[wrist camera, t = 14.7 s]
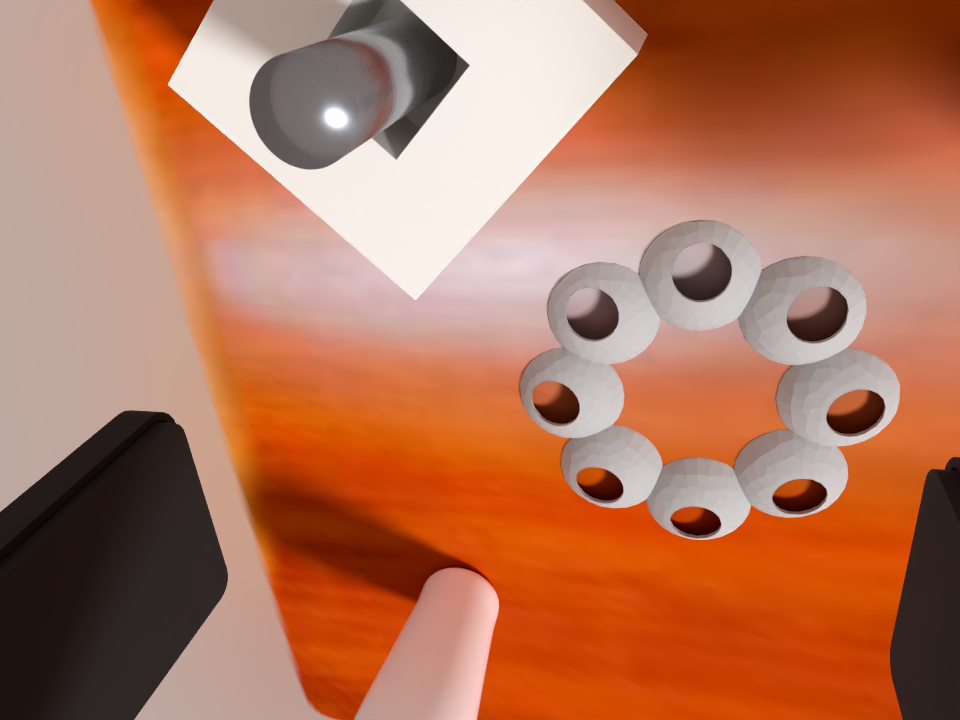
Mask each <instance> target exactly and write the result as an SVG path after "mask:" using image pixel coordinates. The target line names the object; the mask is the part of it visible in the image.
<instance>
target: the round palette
mask: <svg viewBox="0 0 960 720" xmlns="http://www.w3.org/2000/svg"><path fill="white" fill-rule="evenodd" d="M697 243H710V244H714V245H715V246H717V247H719V248H721V249H722V251H723V252H724V253H725V254H726V256H727V257H728V258H729V259H730V262H731V266H732V275H731V278H730V281H729V283H728V285H727V286H726V288H725V289H724V290H723V291H722V292H721V293H720V294H719V295H717V296H716V297H714V298H712V299H708V300H693V299H689V298H687V297H686V296H684V295H682V294H681V293H680V292H679V291H678V290H677V288H676V286H675V284H674V283H673V279H672V267H673V263H674V261H675V259H676V257H677V256H678V254H679V253H680V252H681V251H682V250H683V249H685V248H687V247H688V246H691V245H694V244H697ZM818 286H827V287H831V288H833V289H836V290H838V291H839V292H840V293H841V294H842V295H843V296H844V297H845V299H846V301H847V305H848V310H847V316H846V320H845V321H844V323H843V325H842V327H841V328H840V329H839V330H838V331H837V332H836V333H835V334H834V335H832V336H830V337H829V338H827V339H824V340H820V341H812V342H810V341H805V340H802V339H800V338H798V337H796V336H795V335H794V334H793V333H792V332H791V331H790V329H789V328H788V325H787V312H788V309H789V306H790V305H791V303H792V302H793V300H794V299H795V298H796V297H797V296H798V295H799V294H801V293H802V292H804V291H806V290H807V289H810V288H813V287H818ZM587 287H589V288H594V289H600V290H602V291H604V292H605V293H606V294H608V295H609V296H610V297H611V298H612V299H613V300H614V302H615V304H616V306H617V308H618V312H619V321H618V325H617V327H616V328H615V330H614V331H613V332H612V333H611V334H610V335H609V336H607V337H605V338H603V339H598V340H592V339H587V338H583V337H582V336H580V335H579V334H577V333H576V332H575V331H574V330H573V329H572V328H571V326H570V325H569V323H568V320H567V317H566V304H567V302H568V300H569V298H570V296H571V295H572V294H573V293H574V292H575V291H577V290H579V289H582V288H587ZM866 312H867V310H866V297H865V294H864V291H863V289H862V286H861V284H860V283H859V282H858V281H857V280H856V279H855V278H854V277H853V276H852V275H851V274H850V273H849V272H848V271H847V270H846V269H844V268H843V267H842V266H841V265H840V264H838V263H837V262H834V261H831V260H828V259H825V258H821V257H810V256H802V257H795V258H789V259H785V260H783V261H780V262H778V263H775V264H772V265H770V266H769V267H768V268H766V269H765V270H763V271H761V261H760V259H759V256H758V254H757V252H756V250H755V247H754V246H753V245H752V244H751V242H750V241H749V240H748V239H747V238H746V236H745V235H743V234H742V233H741V232H739V231H737V230H736V229H734V228H733V227H731V226H729V225H726V224H723V223H720V222H717V221H695V222H682V223H680V224H678V225H676V226H673V227H671V228H669V229H667V230H666V231H664V232H663V233H662V234H661V235H659V236H658V237H657V238H655V240H654V241H653V242H652V244H651V245H650V246H649V247H648V249H647V250H646V252H645V254H644V257H643V259H642V261H641V264H640V272H639V274H637V273H636V272H634V271H633V270H631V269H630V268H627V267H624V266H621V265H618V264H615V263H605V262H597V263H591V264H585V265H583V266H580V267H578V268H576V269H573V270H571V271H570V272H569V273H568V274H567V275H566V276H565V277H564V278H563V279H562V280H561V281H560V282H559V283H558V285H557V286H556V287H555V288H554V289H553V291H552V294H551V297H550V300H549V303H548V319H549V323H550V327H551V330H552V332H553V334H554V335H555V337H556V339H557V341H558V342H559V343H560V344H561V345H562V346H563V347H564V348H557V349H552V350H550V351H547V352H545V353H542V354H540V355H539V356H538V357H536V358H535V359H534V360H532V361H531V362H530V364H529V365H528V366H527V368H526V369H525V370H524V373H523V375H522V378H521V381H520V392H521V399H522V404H523V406H524V408H525V410H526V412H527V413H528V415H529V416H530V417H531V418H532V419H533V420H534V421H535V423H536V424H537V425H538V426H540V427H542V428H543V429H545V430H546V431H548V432H550V433H552V434H555V435H558V436H561V437H567V438H571V439H570V440H569V441H568V442H567V444H566V445H565V447H564V450H563V453H562V457H561V468H562V471H563V475H564V477H565V479H566V481H567V483H568V484H569V486H570V487H571V488H572V489H573V490H574V491H575V492H576V493H577V494H578V495H579V496H581V497H582V498H584V499H586V500H587V501H589V502H591V503H594V504H596V505H599V506H602V507H609V508H624V507H629V506H632V505H636V504H639V503H640V502H642V501H644V500H646V502H647V507H648V509H649V511H650V513H651V515H652V516H653V518H654V519H655V520H656V521H657V522H658V523H659V524H660V525H661V526H662V527H663V528H665V529H666V530H668V531H670V532H671V533H673V534H676V535H679V536H682V537H684V538H689V539H695V540H707V539H713V538H718V537H722V536H724V535H726V534H728V533H730V532H732V531H734V530H735V529H736V528H737V527H739V526H740V525H741V524H742V523H743V522H744V520H745V519H746V517H747V515H748V514H749V511H750V507H751V505H752V506H754V507H755V508H757V509H758V510H760V511H762V512H765V513H768V514H770V515H773V516H780V517H787V518H789V517H803V516H806V515H810V514H814V513H817V512H819V511H821V510H823V509H825V508H827V507H828V506H829V505H831V504H832V503H833V502H834V501H835V500H837V499H838V497H839V496H840V494H841V493H842V491H843V490H844V488H845V486H846V482H847V479H848V469H847V463H846V461H845V458H844V456H843V454H842V453H841V451H840V450H839V449H838V448H837V447H836V446H848V445H852V444H856V443H859V442H863V441H865V440H867V439H869V438H871V437H873V436H875V435H876V434H878V433H879V432H880V431H881V430H882V429H883V428H885V427H886V426H887V425H888V424H889V422H890V421H891V420H892V418H893V417H894V415H895V414H896V412H897V408H898V404H899V397H900V384H899V382H898V379H897V377H896V375H895V373H894V372H893V370H892V369H891V368H890V367H889V366H888V364H887V363H886V362H884V361H883V360H881V359H880V358H878V357H877V356H875V355H874V354H871V353H868V352H866V351H863V350H860V349H855V348H846V347H848V346H849V345H850V344H851V343H852V342H853V341H854V340H855V338H856V337H857V335H858V333H859V332H860V330H861V328H862V327H863V323H864V320H865V316H866ZM660 318H661V319H663V320H664V321H666V322H667V323H669V324H671V325H674V326H677V327H680V328H683V329H690V330H707V329H715V328H717V327H720V326H723V325H726V324H729V323H730V322H732V321H733V320H735V319H736V318H739V325H740V329H741V331H742V334H743V336H744V338H745V340H746V341H747V342H748V343H749V344H750V346H751V347H752V348H753V349H754V350H755V351H756V352H758V353H759V354H761V355H762V356H764V357H765V358H767V359H769V360H772V361H775V362H778V363H781V364H787V365H793V366H792V367H791V368H790V369H789V370H788V371H787V372H786V373H785V374H784V376H783V378H782V380H781V381H780V383H779V385H778V390H777V394H776V404H777V411H778V413H779V416H780V418H781V420H782V422H783V423H784V424H785V425H786V427H787V428H788V429H784V430H775V431H772V432H769V433H766V434H763V435H761V436H759V437H757V438H756V439H754V440H752V441H751V442H749V443H748V444H747V445H746V446H745V447H744V448H743V449H742V450H741V452H740V454H739V455H738V457H737V459H736V461H735V465H734V469H732V468H731V467H729V466H728V465H726V464H725V463H722V462H719V461H716V460H713V459H709V458H702V457H690V458H682V459H678V460H675V461H672V462H669V463H668V464H666V465H664V466H662V460H661V457H660V455H659V453H658V451H657V449H656V448H655V446H654V445H653V444H652V443H651V442H650V441H649V440H648V439H647V438H646V437H644V436H643V435H641V434H640V433H638V432H637V431H635V430H632V429H629V428H627V427H624V426H619V425H612V424H613V423H614V422H615V421H616V420H617V419H618V417H619V415H620V413H621V410H622V408H623V403H624V391H623V386H622V382H621V380H620V378H619V376H618V374H617V373H616V371H615V370H614V369H613V368H612V367H611V365H610V364H615V363H621V362H624V361H626V360H629V359H632V358H634V357H635V356H637V355H638V354H640V353H641V352H643V351H644V350H645V349H646V348H647V347H648V345H649V344H650V343H651V342H652V341H653V339H654V337H655V335H656V333H657V330H658V328H659V322H660ZM544 381H555V382H559V383H561V384H564V385H565V386H567V387H568V388H570V389H571V390H572V391H573V392H574V394H575V395H576V397H577V398H578V401H579V405H580V412H579V414H578V416H577V417H576V419H574V420H573V421H572V422H569V423H565V424H558V423H553V422H551V421H548V420H546V419H545V418H544V417H542V416H541V414H540V413H539V412H538V411H537V410H536V408H535V406H534V403H533V401H532V391H533V390H534V388H535V387H536V386H537V385H539V384H540V383H542V382H544ZM859 389H864V390H871V391H873V392H876V393H878V394H879V395H880V396H881V397H882V398H883V399H884V405H885V407H884V411H883V414H882V415H881V417H880V418H879V419H878V421H877V422H876V423H875V424H874V425H872V426H871V427H870V428H868V429H867V430H864V431H861V432H858V433H855V434H843V433H839V432H837V431H834V430H833V429H832V428H831V427H830V426H829V425H828V423H827V420H826V416H827V411H828V409H829V407H830V405H831V404H832V403H833V401H834V400H836V399H837V398H838V397H839V396H841V395H843V394H845V393H847V392H849V391H853V390H859ZM588 467H599V468H603V469H606V470H608V471H610V472H612V473H613V474H614V475H616V476H617V477H618V478H619V480H620V481H621V482H622V485H623V489H624V491H623V494H622V495H621V496H620V497H619V498H617V499H615V500H611V501H604V500H599V499H596V498H593V497H591V496H589V495H588V494H586V493H585V492H584V491H583V490H582V489H581V488H580V487H579V485H578V483H577V481H576V475H577V474H578V472H579V471H580V470H582V469H584V468H588ZM795 479H811V480H815V481H817V482H819V483H821V484H822V485H823V486H824V487H825V488H826V490H827V494H826V497H825V499H824V500H823V501H822V502H821V503H820V504H819V505H818V506H816V507H814V508H812V509H809V510H804V511H800V512H792V511H786V510H783V509H780V508H779V507H777V506H776V505H775V504H774V502H773V500H772V497H773V494H774V492H775V490H776V489H777V488H778V487H779V486H781V485H782V484H784V483H786V482H788V481H791V480H795ZM690 506H695V507H702V508H706V509H708V510H710V511H712V512H714V513H715V514H716V515H717V516H718V517H719V518H720V521H721V525H720V527H719V529H717V530H716V531H715V532H713V533H710V534H707V535H691V534H687V533H685V532H682V531H680V530H678V529H677V528H676V527H674V526H673V524H672V522H671V520H670V518H671V516H672V514H673V513H674V512H675V511H677V510H678V509H680V508H684V507H690Z"/></svg>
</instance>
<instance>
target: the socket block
mask: <svg viewBox="0 0 960 720" xmlns="http://www.w3.org/2000/svg"><path fill="white" fill-rule="evenodd" d="M413 12H414V13H415V14H416V15H417V16H418V17H419V18H420V19H421V20H422V21H423V22H424V23H425V24H426V25H427V26H429V27H430V28H431V29H432V30H433V31H434V32H435V33H436V34H437V35H438V36H439V37H440V38H441V39H442V40H443V41H445V42H446V43H447V44H448V45H449V46H450V47H451V48H452V49H453V50H454V51H455V52H456V53H457V65H456V70H455V73H454V76H453V78H452V80H451V82H450V83H449V84H448V86H447V87H446V88H445V89H444V90H443V91H441V92H440V93H438V94H437V95H435V96H434V97H432V98H431V99H429V100H428V101H426V102H425V103H423V104H422V105H420V106H419V107H417V108H416V109H414V110H413V111H411V112H410V113H408V114H407V115H405V116H404V117H402V118H401V119H399V120H398V121H396V122H395V123H393V124H392V125H390V126H389V127H387V128H386V129H384V130H383V131H381V132H380V133H378V134H377V135H375V136H374V137H372V138H371V139H369V140H368V141H366V142H365V143H363V144H362V145H360V146H359V147H357V148H356V149H354V150H353V151H351V152H350V153H348V154H347V155H345V156H344V157H342V158H341V159H339V160H338V161H336V162H335V163H333V164H332V165H330V166H328V167H325V168H321V169H315V170H307V169H301V168H297V167H294V166H291V165H289V164H287V163H285V162H283V161H282V160H280V159H279V158H277V157H276V156H275V155H274V154H273V153H272V152H271V151H270V150H269V149H268V148H267V147H266V146H265V145H264V143H263V142H262V140H261V139H260V137H259V136H258V134H257V132H256V130H255V127H254V125H253V122H252V119H251V114H250V107H249V95H250V88H251V85H252V82H253V79H254V77H255V75H256V73H257V72H258V70H259V69H260V68H261V67H262V66H263V64H265V63H266V62H267V61H268V60H270V59H271V58H273V57H275V56H278V55H280V54H283V53H287V52H290V51H293V50H296V49H299V48H302V47H305V46H308V45H311V44H314V43H317V42H320V41H323V40H327V39H330V38H333V37H336V36H339V35H342V34H345V33H348V32H351V31H354V30H357V29H360V28H363V27H367V26H370V25H373V24H376V23H379V22H382V21H385V20H388V19H391V18H394V17H397V16H400V15H404V14H407V13H413ZM647 35H648V34H647V33H646V32H645V31H644V30H643V29H642V28H641V27H640V26H639V25H638V24H637V23H636V22H635V21H634V20H633V19H632V18H631V17H630V16H629V15H628V14H627V13H626V12H625V11H624V10H623V9H622V8H621V7H620V6H619V5H618V4H617V3H616V2H615V1H614V0H213V2H212V4H211V6H210V8H209V10H208V12H207V13H206V15H205V17H204V19H203V21H202V23H201V24H200V26H199V28H198V30H197V32H196V34H195V35H194V37H193V39H192V41H191V43H190V45H189V47H188V48H187V50H186V52H185V54H184V56H183V58H182V59H181V61H180V63H179V65H178V67H177V69H176V71H175V72H174V74H173V76H172V78H171V80H170V82H169V83H168V85H169V86H170V87H171V88H172V89H173V90H174V91H175V92H177V93H178V94H179V95H180V96H181V97H182V98H184V99H185V100H186V101H187V102H188V103H189V104H190V105H192V106H193V107H194V108H195V109H196V110H197V111H198V112H200V113H201V114H202V115H203V116H204V117H205V118H206V119H208V120H209V121H210V122H211V123H212V124H213V125H215V126H216V127H217V128H218V129H219V130H220V131H221V132H223V133H224V134H225V135H226V136H227V137H228V138H229V139H231V140H232V141H233V142H234V143H235V144H236V145H237V146H239V147H240V148H241V149H242V150H243V151H244V152H246V153H247V154H248V155H249V156H250V157H251V158H252V159H254V160H255V161H256V162H257V163H258V164H259V165H260V166H262V167H263V168H264V169H265V170H266V171H267V172H268V173H270V174H271V175H272V176H273V177H274V178H275V179H277V180H278V181H279V182H280V183H281V184H282V185H283V186H285V187H286V188H287V189H288V190H289V191H290V192H291V193H293V194H294V195H295V196H296V197H297V198H298V199H299V200H301V201H302V202H303V203H304V204H305V205H306V206H308V207H309V208H310V209H311V210H312V211H313V212H314V213H316V214H317V215H318V216H319V217H320V218H321V219H322V220H324V221H325V222H326V223H327V224H328V225H329V226H330V227H332V228H333V229H334V230H335V231H336V232H337V233H339V234H340V235H341V236H342V237H343V238H344V239H345V240H347V241H348V242H349V243H350V244H351V245H352V246H353V247H355V248H356V249H357V250H358V251H359V252H360V253H361V254H363V255H364V256H365V257H366V258H367V259H368V260H370V261H371V262H372V263H373V264H374V265H375V266H376V267H378V268H379V269H380V270H381V271H382V272H383V273H384V274H386V275H387V276H388V277H389V278H390V279H391V280H393V281H394V282H395V283H396V284H397V285H398V286H399V287H401V288H402V289H403V290H404V291H405V292H406V293H407V294H409V295H410V296H411V297H412V298H413V299H414V300H416V299H417V298H418V297H419V296H420V295H421V294H422V293H423V291H424V290H425V289H426V288H427V287H428V286H429V285H430V284H431V283H432V281H433V280H434V279H435V278H436V277H437V276H438V275H439V274H440V273H441V272H442V270H443V269H444V268H445V267H446V266H447V265H448V264H449V263H450V262H451V260H452V259H453V258H454V257H455V256H456V255H457V254H458V253H459V252H460V251H461V249H462V248H463V247H464V246H465V245H466V244H467V243H468V242H469V241H470V239H471V238H472V237H473V236H474V235H475V234H476V233H477V232H478V231H479V230H480V228H481V227H482V226H483V225H484V224H485V223H486V222H487V221H488V220H489V218H490V217H491V216H492V215H493V214H494V213H495V212H496V211H497V210H498V209H499V207H500V206H501V205H502V204H503V203H504V202H505V201H506V200H507V199H508V197H509V196H510V195H511V194H512V193H513V192H514V191H515V190H516V189H517V188H518V186H519V185H520V184H521V183H522V182H523V181H524V180H525V179H526V178H527V176H528V175H529V174H530V173H531V172H532V171H533V170H534V169H535V168H536V167H537V165H538V164H539V163H540V162H541V161H542V160H543V159H544V158H545V157H546V156H547V154H548V153H549V152H550V151H551V150H552V149H553V148H554V147H555V146H556V144H557V143H558V142H559V141H560V140H561V139H562V138H563V137H564V136H565V135H566V133H567V132H568V131H569V130H570V129H571V128H572V127H573V126H574V125H575V123H576V122H577V121H578V120H579V119H580V118H581V117H582V116H583V115H584V114H585V112H586V111H587V110H588V109H589V108H590V107H591V106H592V105H593V104H594V102H595V101H596V100H597V99H598V98H599V97H600V96H601V95H602V94H603V93H604V91H605V90H606V89H607V88H608V87H609V86H610V85H611V84H612V83H613V81H614V80H615V79H616V78H617V77H618V76H619V75H620V74H621V73H622V72H623V70H624V69H625V68H626V67H627V66H628V65H629V64H630V63H631V62H632V60H633V59H634V58H635V57H636V56H637V55H638V53H639V51H640V49H641V47H642V45H643V43H644V41H645V39H646V37H647Z"/></svg>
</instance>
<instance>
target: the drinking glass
mask: <svg viewBox="0 0 960 720" xmlns="http://www.w3.org/2000/svg"><path fill="white" fill-rule="evenodd" d="M498 612H499V600H498V596H497V593H496V591H495V590H494V588H493V586H492V585H491V584H490V583H489V582H488V581H487V580H486V579H485V578H483V577H482V576H481V575H479V574H477V573H475V572H473V571H470V570H467V569H463V568H445V569H442V570H439V571H437V572H435V573H434V574H432V575H431V576H430V577H429V578H428V579H427V581H426V582H425V584H424V586H423V589H422V591H421V593H420V596H419V598H418V600H417V602H416V604H415V606H414V608H413V610H412V612H411V614H410V616H409V617H408V619H407V621H406V623H405V625H404V627H403V628H402V630H401V632H400V634H399V636H398V638H397V639H396V641H395V643H394V645H393V647H392V648H391V650H390V652H389V654H388V656H387V658H386V659H385V661H384V663H383V665H382V667H381V668H380V670H379V672H378V674H377V676H376V677H375V679H374V681H373V683H372V685H371V686H370V688H369V690H368V692H367V694H366V696H365V698H364V699H363V701H362V703H361V705H360V707H359V709H358V712H357V714H356V716H355V718H354V720H477V717H478V711H479V706H480V700H481V694H482V689H483V683H484V678H485V672H486V667H487V661H488V656H489V651H490V645H491V640H492V635H493V630H494V627H495V623H496V620H497V616H498Z"/></svg>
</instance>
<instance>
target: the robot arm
mask: <svg viewBox="0 0 960 720" xmlns="http://www.w3.org/2000/svg"><path fill="white" fill-rule="evenodd" d="M227 581H228V573H227V568H226V565H225V561H224V558H223V555H222V551H221V548H220V545H219V542H218V538H217V535H216V532H215V529H214V525H213V522H212V519H211V516H210V512H209V509H208V506H207V503H206V500H205V496H204V493H203V490H202V487H201V483H200V480H199V477H198V474H197V470H196V467H195V464H194V461H193V458H192V454H191V451H190V448H189V444H188V441H187V438H186V435H185V432H184V430H183V428H182V427H181V426H180V425H178V424H176V423H175V421H174V419H173V418H172V417H171V416H170V415H169V414H167V413H164V412H149V411H124V412H122V413H120V414H119V415H118V416H116V417H115V418H114V419H112V420H111V421H110V422H109V423H108V424H107V425H105V426H104V427H103V428H102V429H100V430H99V431H98V432H97V433H95V434H94V435H93V436H92V437H91V438H90V439H88V440H87V441H86V442H85V443H83V444H82V445H81V446H80V447H78V448H77V449H76V450H75V451H74V452H72V453H71V454H70V455H69V456H68V457H66V458H65V459H64V460H63V461H62V462H60V463H59V464H58V465H57V466H55V467H54V468H53V469H52V470H51V471H49V472H48V473H47V474H46V475H45V476H43V477H42V478H41V479H40V480H39V481H37V482H36V483H35V484H34V485H33V486H31V487H30V488H29V489H28V490H26V492H24V493H23V494H22V495H20V496H19V497H18V498H17V499H16V500H15V501H13V502H12V503H11V504H10V505H8V506H7V507H6V508H5V509H4V510H2V511H1V512H0V720H134V719H135V718H136V716H137V715H138V713H139V712H140V711H141V709H142V708H143V706H144V705H145V704H146V702H147V701H148V699H149V698H150V697H151V695H152V694H153V692H154V691H155V690H156V688H157V687H158V686H159V684H160V682H161V681H162V680H163V678H164V677H165V676H166V674H167V673H168V671H169V670H170V669H171V667H172V666H173V665H174V663H175V662H176V661H177V659H178V658H179V656H180V655H181V653H182V652H183V651H184V649H185V648H186V647H187V645H188V644H189V642H190V641H191V640H192V638H193V637H194V635H195V634H196V633H197V631H198V630H199V629H200V627H201V626H202V624H203V623H204V622H205V620H206V619H207V617H208V616H209V615H210V613H211V612H212V610H213V609H214V608H215V606H216V605H217V603H218V602H219V601H220V599H221V598H222V596H223V594H224V592H225V589H226V586H227ZM890 666H891V675H892V679H893V684H894V687H895V691H896V695H897V699H898V703H899V706H900V710H901V714H902V718H903V720H960V457H953V458H951V459H950V460H949V461H948V463H947V465H946V468H945V470H937V469H932V470H930V471H929V472H928V474H927V477H926V480H925V484H924V489H923V494H922V499H921V504H920V508H919V513H918V518H917V523H916V527H915V532H914V537H913V542H912V546H911V551H910V556H909V561H908V566H907V570H906V575H905V580H904V585H903V589H902V594H901V599H900V604H899V608H898V613H897V618H896V623H895V628H894V632H893V637H892V642H891V648H890Z"/></svg>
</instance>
